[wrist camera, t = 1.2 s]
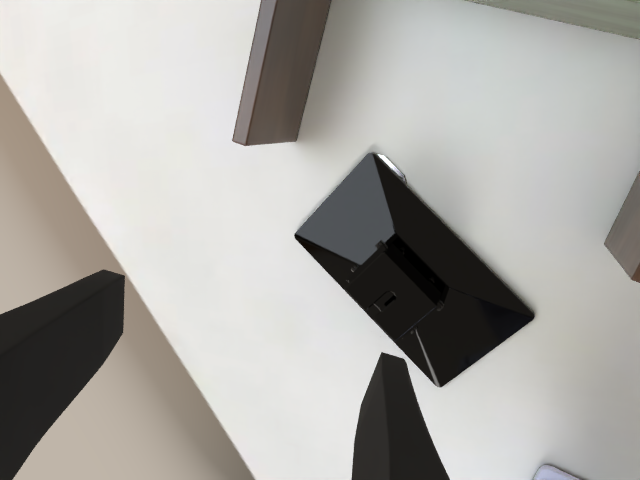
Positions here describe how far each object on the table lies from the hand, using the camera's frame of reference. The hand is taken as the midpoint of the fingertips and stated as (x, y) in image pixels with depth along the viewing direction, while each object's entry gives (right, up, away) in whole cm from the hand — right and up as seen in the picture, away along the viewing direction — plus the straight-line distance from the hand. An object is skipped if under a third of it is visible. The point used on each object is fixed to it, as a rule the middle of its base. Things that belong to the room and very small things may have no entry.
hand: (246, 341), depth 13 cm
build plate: (+7, +1, +15) cm, 16 cm away
